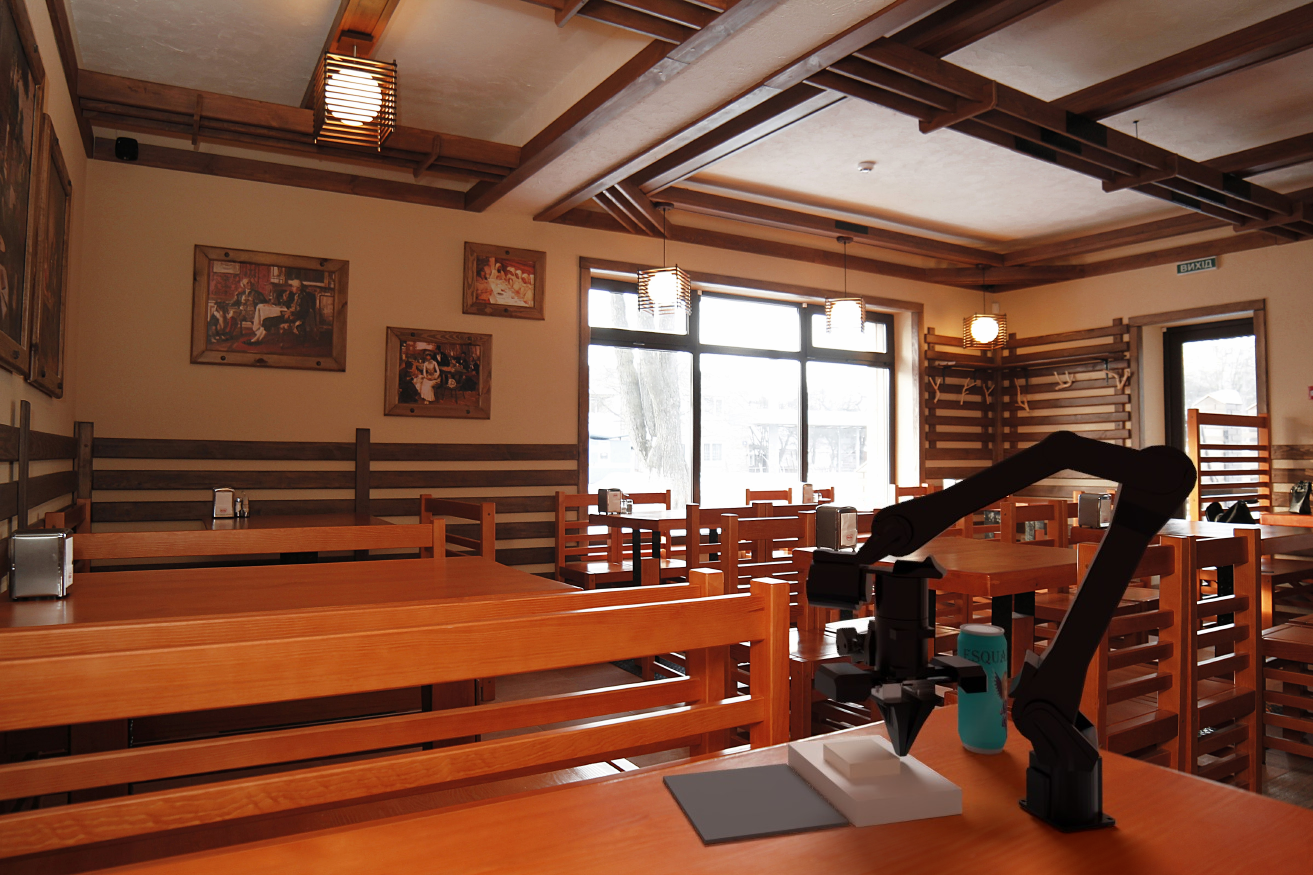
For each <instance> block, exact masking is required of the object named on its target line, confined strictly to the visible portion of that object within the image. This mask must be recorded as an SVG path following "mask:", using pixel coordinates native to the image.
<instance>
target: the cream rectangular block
mask: <svg viewBox="0 0 1313 875" xmlns="http://www.w3.org/2000/svg"><path fill="white" fill-rule="evenodd" d="M823 758H824V759H825V760H827V761H828V762H829V763H830V764H832V765H833V766H834V767H835V768H836V769H838V770H839V771H840V772H841V773H843V774H844V775H845V776H846V777H848V778H849V779H856V778H865V777H874V776H883V775H891V774H900V758H899V757H897V756H896V755H894V754H893V753H891V752H890V751H888V750H887V749H885V748H884V747H882V746H881V745H879V744H878V743H876V742H875V741H873V740H872V739H863V740H853V741H843V742H833V743H823Z"/></svg>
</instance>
